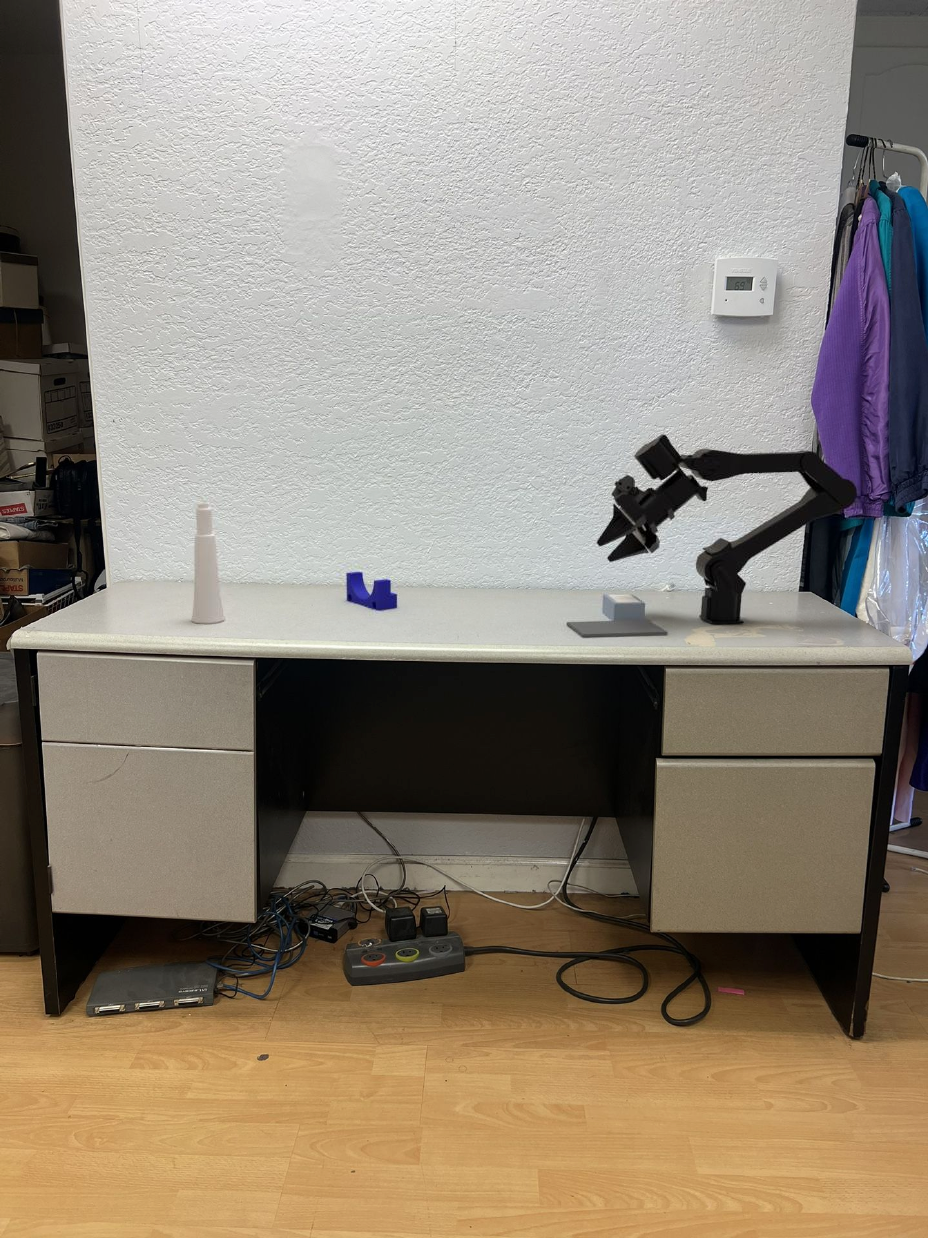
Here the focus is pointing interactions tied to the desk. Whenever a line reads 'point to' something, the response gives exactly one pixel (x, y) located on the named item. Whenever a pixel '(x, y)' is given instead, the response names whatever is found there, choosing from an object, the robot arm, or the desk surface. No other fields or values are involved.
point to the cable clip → (379, 596)
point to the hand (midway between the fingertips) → (603, 552)
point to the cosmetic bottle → (206, 571)
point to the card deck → (623, 607)
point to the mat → (616, 628)
